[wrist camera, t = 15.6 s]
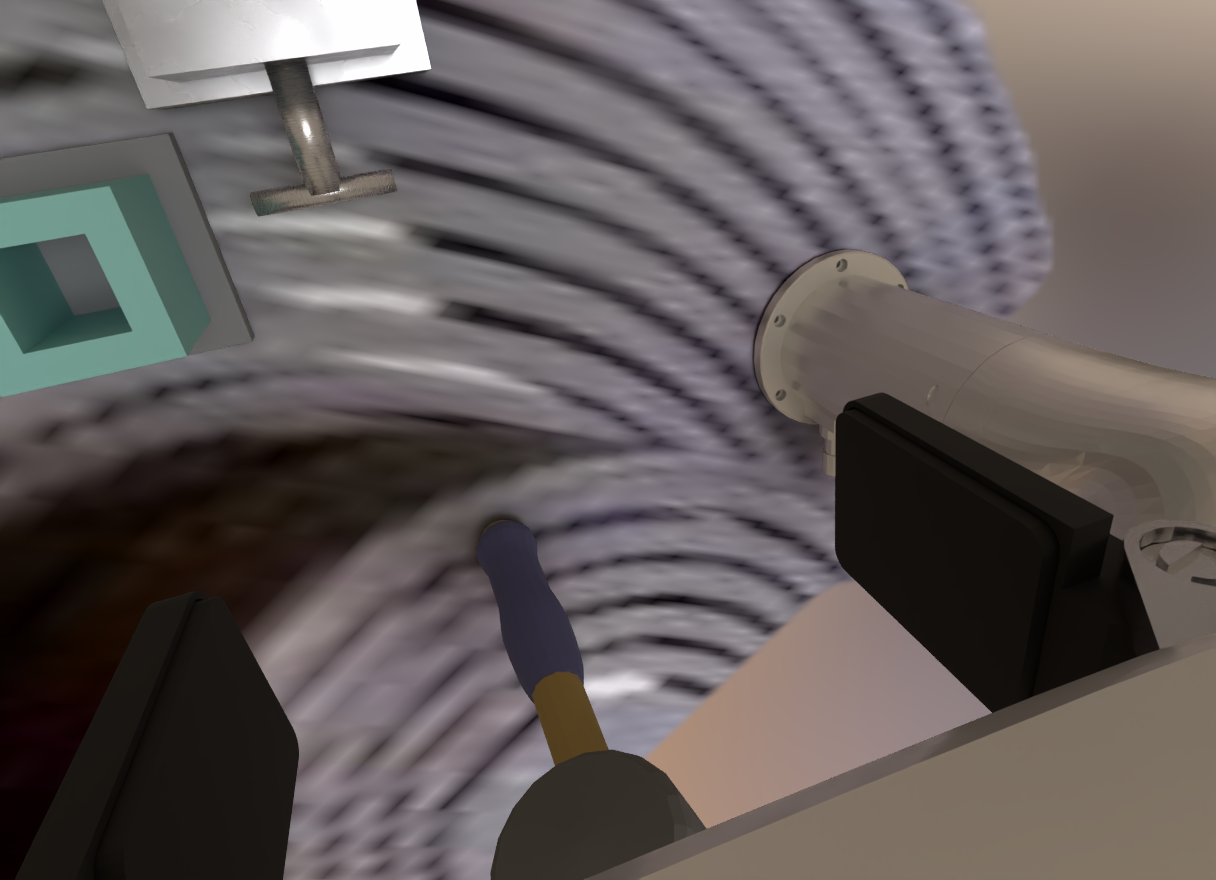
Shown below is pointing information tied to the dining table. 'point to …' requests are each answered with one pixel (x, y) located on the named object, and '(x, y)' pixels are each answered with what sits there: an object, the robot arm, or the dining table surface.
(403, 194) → the dining table surface
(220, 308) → the mat
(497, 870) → the rubber mallet
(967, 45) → the dining table surface
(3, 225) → the collar
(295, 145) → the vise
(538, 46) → the dining table surface
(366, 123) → the dining table surface
